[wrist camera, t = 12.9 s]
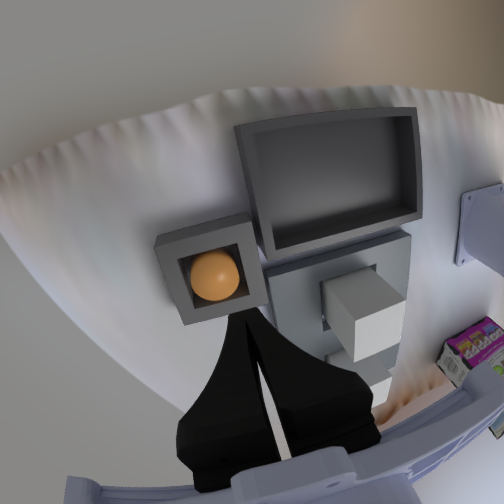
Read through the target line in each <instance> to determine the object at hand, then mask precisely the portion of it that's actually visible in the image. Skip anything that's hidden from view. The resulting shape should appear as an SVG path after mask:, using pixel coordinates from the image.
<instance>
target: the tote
mask: <svg viewBox="0 0 504 504" xmlns="http://www.w3.org/2000/svg"><path fill="white" fill-rule="evenodd" d="M234 130H235V134H236V139H237V144H238V148H239V153H240V157H241V162H242V167H243V171H244V176H245V181H246V185H247V190H248V195H249V199H250V204H251V209H252V214H253V218H254V223H255V228H256V233H257V237H258V242H259V246H260V248H261V250H262V252H263V254H264V256H265V257H266V259H267V261H268V262H269V261H272V260H276V259H280V258H283V257H287V256H291V255H294V254H298V253H302V252H305V251H309V250H312V249H316V248H320V247H323V246H327V245H330V244H334V243H337V242H341V241H345V240H348V239H352V238H355V237H359V236H362V235H366V234H369V233H373V232H376V231H380V230H383V229H387V228H390V227H394V226H397V225H400V224H404V223H407V222H411V221H414V220H418V219H421V218H422V210H423V188H422V160H421V146H420V134H419V125H418V116H417V109H416V107H392V108H367V109H351V110H339V111H328V112H319V113H311V114H303V115H295V116H288V117H282V118H276V119H270V120H264V121H258V122H253V123H248V124H243V125H238V126H234Z"/></svg>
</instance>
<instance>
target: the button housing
mask: <svg viewBox="0 0 504 504" xmlns="http://www.w3.org/2000/svg"><path fill="white" fill-rule="evenodd" d="M235 243H236V245H237V249H238V253H239V257H240V261H241V265H242V269H243V273H244V277H245V280H244V281H241V282H239V284H238V286H237V288H236V290H235V291H234V293H232V294H231V295H230V296H229V297H227V298H225V299H222V300H217V301H211V300H206V299H204V298H202V297H200V296H199V295H197V294H196V293H195V294H194V292H193V289H192V286H191V283H190V280H189V277H188V275H187V272H186V269H185V266H184V263H183V260H182V257H186V256H190V255H194V254H197V253H201V252H205V251H208V250H212V249H216V248H220V247H224V246H227V245H231V244H235ZM154 250H155V253H156V255H157V258H158V261H159V264H160V266H161V269H162V272H163V274H164V277H165V279H166V282H167V285H168V287H169V290H170V292H171V295H172V297H173V300H174V302H175V305H176V307H177V309H178V312H179V314H180V317H181V319H182V321H183V324H184V326H185V325H189V324H193V323H197V322H202V321H206V320H210V319H213V318H217V317H221V316H225V315H229V314H231V313H234V312H238V311H242V310H246V309H249V308H253V307H258V306H262V305H266V304H269V301H268V296H267V291H266V287H265V282H264V277H263V272H262V268H261V263H260V258H259V254H258V249H257V244H256V239H255V235H254V230H253V225H252V221H251V219H250V218H249V216H248V215H247V213H246V212H245V213H241V214H237V215H233V216H229V217H225V218H221V219H217V220H214V221H210V222H206V223H202V224H199V225H195V226H191V227H188V228H184V229H180V230H177V231H173V232H170V233H166V234H163V235H159V236H157V239H156V242H155V245H154Z"/></svg>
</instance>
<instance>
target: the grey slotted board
mask: <svg viewBox="0 0 504 504" xmlns="http://www.w3.org/2000/svg"><path fill="white" fill-rule="evenodd" d="M410 254H411V235H410V234H409V233H407V232H405V231H404V230H401V231H398V232H395V233H391V234H388V235H385V236H382V237H378V238H375V239H371V240H368V241H365V242H361V243H358V244H354V245H351V246H348V247H344V248H341V249H337V250H334V251H330V252H327V253H323V254H320V255H316V256H313V257H309V258H306V259H302V260H299V261H295V262H292V263H288V264H284V265H281V266H277V267H274V268H270V269H266V270H264V271H265V276H266V281H267V285H268V290H269V295H270V300H271V305H272V310H273V315H274V320H275V325H276V329H277V330H278V331H279V332H280V333H281V334H282V335H283V336H284V337H286V338H287V339H288V340H289V341H291V342H292V343H293V344H295V345H296V346H298V347H299V348H301V349H302V350H304V351H305V352H307V353H309V354H310V355H312V356H314V357H316V358H318V359H320V360H322V361H324V362H325V358H324V356H325V355H328V354H331V353H333V352H336V351H339V350H342V349H344V347H343V345H342V344H341V342H340V341H339V339H338V338H337V336H336V335H335V333H334V332H333V330H332V328H331V327H330V325H329V324H328V322H327V321H324V322H322V310H321V298H320V286H319V282H320V281H323V280H327V279H330V278H333V277H336V276H339V275H343V274H346V273H349V272H352V271H355V270H358V269H361V268H364V267H367V266H369V267H370V268H371V269H372V270H374V271H375V272H376V273H377V274H378V275H379V276H380V277H382V278H383V279H384V280H385V281H386V282H387V283H388V284H389V285H391V286H392V287H393V288H394V289H395V290H396V291H397V292H398V293H399V294H400V295H402V296H403V297H404V298H405V299H406V298H407V289H408V279H409V268H410ZM399 343H400V342H399ZM399 343H397V344H395V345H393V346H391V347H389V348H387V349H384V350H382V351H380V352H378V353H376V354H377V356H378V357H379V359H380V360H381V361H382V363H383V364H384V365H385V367H386V368H387V369H390V368H392V367H394V366H395V363H396V358H397V354H398V348H399Z"/></svg>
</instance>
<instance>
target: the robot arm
mask: <svg viewBox="0 0 504 504" xmlns="http://www.w3.org/2000/svg"><path fill="white" fill-rule="evenodd" d="M473 259H477V260H479V261H480V262H482V263H483V264H485V265H486V266H488V267H490V268H491V269H493V270H494V271H496V272H497V273H499V274H500V275H502V276H503V277H504V183H502V184H498V185H494V186H490V187H486V188H482V189H478V190H474V191H470V192H466V193H464V194H463V195H462V201H461V218H460V230H459V239H458V248H457V255H456V265H457V266H458V267H459V266H461V265H463V264H465V263H467V262H469V261H471V260H473ZM257 362H258V364H259V366H260V369H261V371H262V374H263V376H264V378H265V381H266V383H267V386H268V388H269V390H270V393H271V395H272V398H273V400H274V403H275V406H276V409H277V413H278V416H279V419H280V422H281V425H282V429H283V432H284V435H285V438H286V441H287V444H288V447H289V451H290V454H291V457H292V458H290V459H287V460H283V461H282V460H281V457H280V453H279V450H278V447H277V444H276V440H275V437H274V434H273V430H272V427H271V424H270V420H269V417H268V414H267V410H266V407H265V403H264V398H263V393H262V387H261V381H260V375H259V370H258V364H257ZM372 403H373V392H372V391H371V389H370V387H369V386H368V385H367V383H366V382H365V381H364V380H363V379H362V378H361V377H360V376H359V375H358V374H357V373H356V372H353V371H350V370H346V369H343V368H339V367H336V366H334V365H331V364H329V363H327V362H324V361H322V360H320V359H318V358H316V357H314V356H312V355H310V354H309V353H307V352H305V351H304V350H302V349H301V348H299V347H298V346H296V345H295V344H293V343H292V342H291V341H289V340H288V339H287V338H286V337H284V336H283V335H282V334H281V333H280V332H279V331H278V330H277V329H276V328H274V327H273V326H272V325H271V324H270V322H269V321H268V320H267V319H266V318H265V317H264V316H263V314H262V313H261V312H260V310H259V308H257V307H253V308H249V309H246V310H242V311H238V312H234V313H231V314H229V316H228V325H227V331H226V336H225V340H224V344H223V347H222V350H221V353H220V356H219V359H218V362H217V364H216V367H215V369H214V371H213V373H212V375H211V377H210V379H209V381H208V383H207V385H206V386H205V388H204V390H203V391H202V393H201V394H200V396H199V397H198V399H197V400H196V401H195V403H194V404H193V406H192V407H191V408H190V409H189V410H188V412H187V413H186V414H185V415H184V416H183V417H182V418H181V420H180V421H179V423H178V428H177V436H176V448H177V457H178V458H179V460H180V461H181V462H182V463H184V464H185V465H186V466H187V467H188V468H189V469H190V470H191V471H192V472H193V480H194V485H185V486H169V487H115V486H100V485H99V484H98V483H97V482H95V481H93V480H91V479H88V478H84V477H75V476H67V481H66V488H65V495H64V504H422V503H421V501H420V499H419V497H418V495H417V493H416V492H415V490H414V488H413V486H412V484H413V483H415V482H416V481H418V480H419V479H421V478H423V477H424V476H426V475H427V474H429V473H430V472H432V471H433V470H435V469H436V468H437V467H439V466H440V465H442V464H443V463H444V462H446V461H447V460H448V459H450V458H451V457H452V456H454V455H455V454H456V453H458V452H459V451H460V450H461V449H463V448H464V447H465V446H466V445H468V444H469V443H470V442H471V441H472V440H474V439H475V438H476V437H477V436H479V435H480V434H481V433H482V432H483V431H484V430H486V429H487V428H488V427H489V426H490V425H491V424H492V423H493V422H494V421H495V420H496V419H497V417H498V416H499V415H500V413H501V412H502V411H503V409H504V379H503V378H502V377H501V376H500V375H499V374H498V373H497V372H496V371H495V370H494V369H493V368H492V366H491V365H490V364H489V363H488V362H487V361H486V360H484V361H482V362H481V363H480V364H478V365H477V366H476V367H474V368H473V369H472V370H470V371H469V372H468V373H467V375H466V376H465V377H464V379H463V381H462V385H460V386H459V387H458V388H456V389H455V390H453V391H452V392H450V393H449V394H447V395H446V396H444V397H443V398H441V399H440V400H438V401H436V402H435V403H433V404H432V405H430V406H428V407H427V408H425V409H423V410H422V411H420V412H418V413H416V414H415V415H413V416H411V417H409V418H407V419H406V420H404V421H402V422H400V423H398V424H396V425H394V426H392V427H390V428H388V429H386V430H384V431H382V432H379V431H378V429H377V427H376V425H375V424H374V421H375V419H374V417H373V415H372V413H371V408H372Z"/></svg>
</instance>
